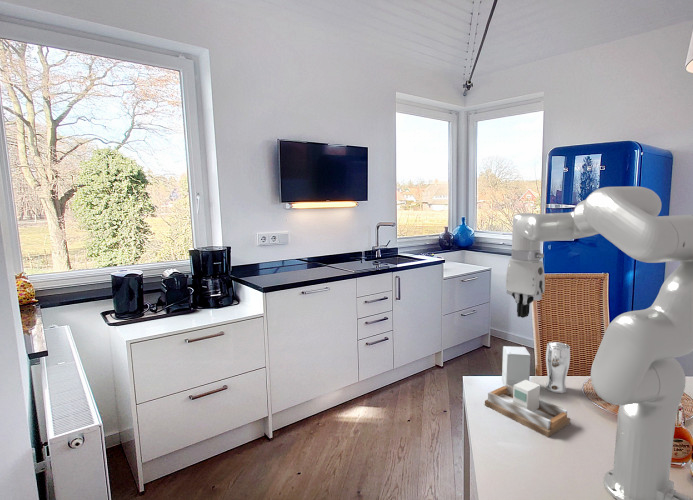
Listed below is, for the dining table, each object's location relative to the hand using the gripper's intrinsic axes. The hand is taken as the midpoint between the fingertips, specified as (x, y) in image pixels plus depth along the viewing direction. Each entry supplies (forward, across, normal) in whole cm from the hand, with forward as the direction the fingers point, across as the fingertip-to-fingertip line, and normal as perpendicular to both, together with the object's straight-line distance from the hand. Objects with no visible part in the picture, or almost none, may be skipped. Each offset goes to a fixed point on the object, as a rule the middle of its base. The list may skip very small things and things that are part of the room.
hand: (522, 316), depth 119 cm
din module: (+26, -5, +4) cm, 27 cm away
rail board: (+28, -4, +4) cm, 28 cm away
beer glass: (+28, -2, -18) cm, 33 cm away
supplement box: (+28, +7, -9) cm, 30 cm away
